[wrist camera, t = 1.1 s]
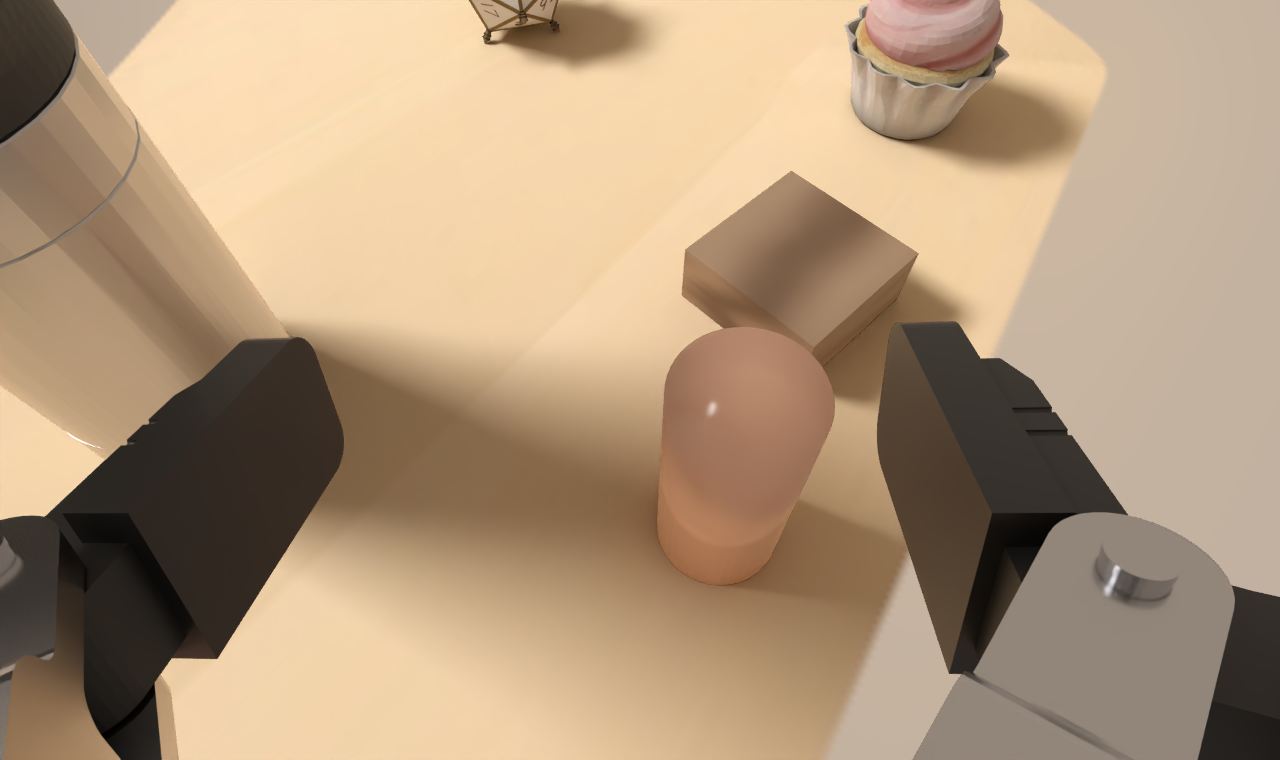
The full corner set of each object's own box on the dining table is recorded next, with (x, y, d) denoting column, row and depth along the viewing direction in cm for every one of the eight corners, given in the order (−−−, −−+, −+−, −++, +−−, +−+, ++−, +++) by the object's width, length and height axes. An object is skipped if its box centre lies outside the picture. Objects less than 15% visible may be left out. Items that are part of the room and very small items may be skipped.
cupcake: (1005, 112, 46) (1087, -50, 38) (915, 180, 43) (983, 19, 34) (887, 46, 50) (938, -115, 41) (796, 104, 47) (832, -58, 38)
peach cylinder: (632, 523, 32) (629, 393, 22) (714, 449, 33) (742, 301, 24) (719, 611, 30) (756, 508, 20) (801, 527, 31) (869, 398, 22)
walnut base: (681, 294, 38) (685, 249, 35) (780, 218, 41) (791, 170, 38) (799, 388, 35) (814, 347, 32) (896, 298, 38) (918, 253, 35)
